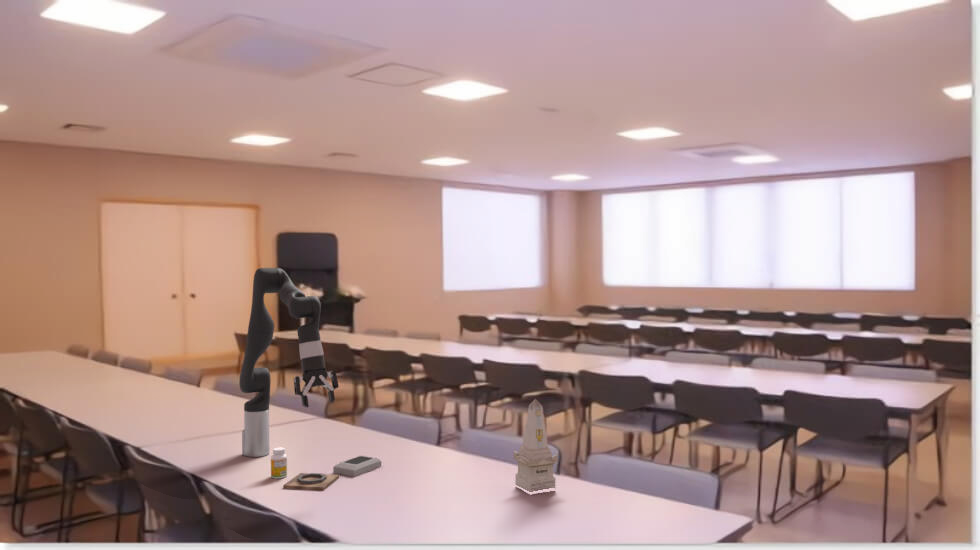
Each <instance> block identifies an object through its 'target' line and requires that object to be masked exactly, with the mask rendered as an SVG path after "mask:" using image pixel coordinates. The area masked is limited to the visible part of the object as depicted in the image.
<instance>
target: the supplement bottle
mask: <svg viewBox="0 0 980 550" xmlns="http://www.w3.org/2000/svg"><path fill="white" fill-rule="evenodd" d="M287 476H288V456H287V454H286V448H285V447H280V446H279V447H275V448H273V449H272V455H271V457H270V477H271V478H272V479H284V478H286V477H287Z"/></svg>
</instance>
